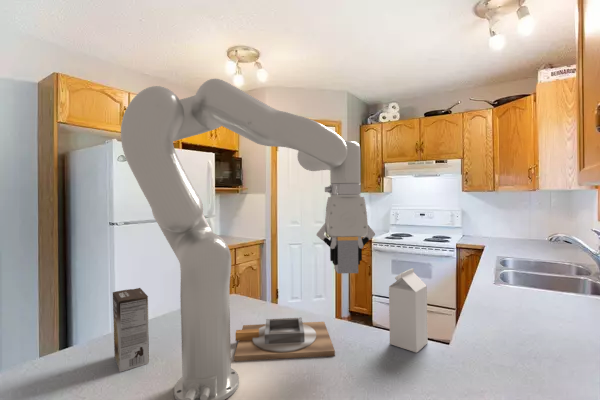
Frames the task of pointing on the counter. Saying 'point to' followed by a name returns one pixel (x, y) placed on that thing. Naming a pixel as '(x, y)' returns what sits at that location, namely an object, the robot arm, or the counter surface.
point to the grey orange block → (347, 255)
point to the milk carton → (408, 312)
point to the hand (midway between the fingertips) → (345, 263)
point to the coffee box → (131, 328)
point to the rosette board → (283, 340)
